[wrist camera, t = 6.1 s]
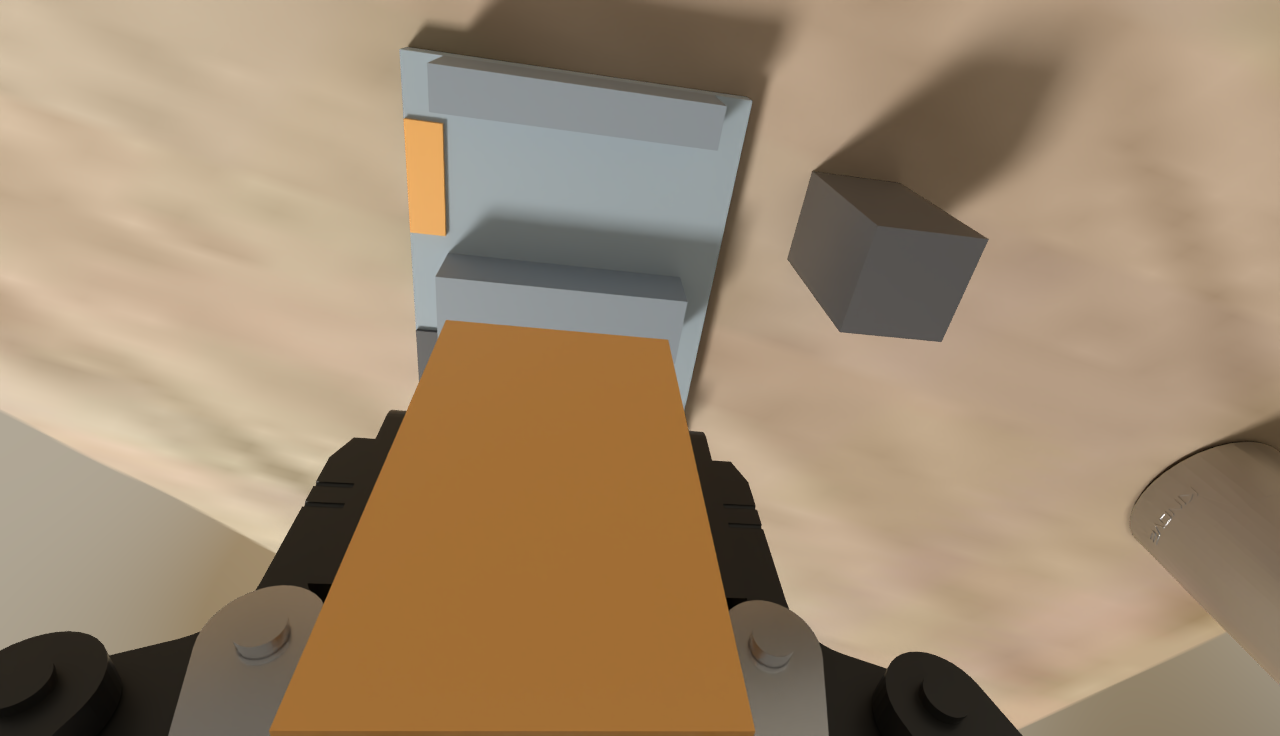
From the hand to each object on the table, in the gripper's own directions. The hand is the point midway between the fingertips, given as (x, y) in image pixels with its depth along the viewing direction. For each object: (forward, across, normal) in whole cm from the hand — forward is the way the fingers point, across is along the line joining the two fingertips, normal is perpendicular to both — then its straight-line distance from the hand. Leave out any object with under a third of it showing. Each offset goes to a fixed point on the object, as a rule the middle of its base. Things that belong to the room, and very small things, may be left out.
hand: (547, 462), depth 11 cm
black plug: (+17, -12, 0) cm, 21 cm away
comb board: (+17, 0, +4) cm, 18 cm away
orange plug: (+1, 0, 0) cm, 1 cm away
